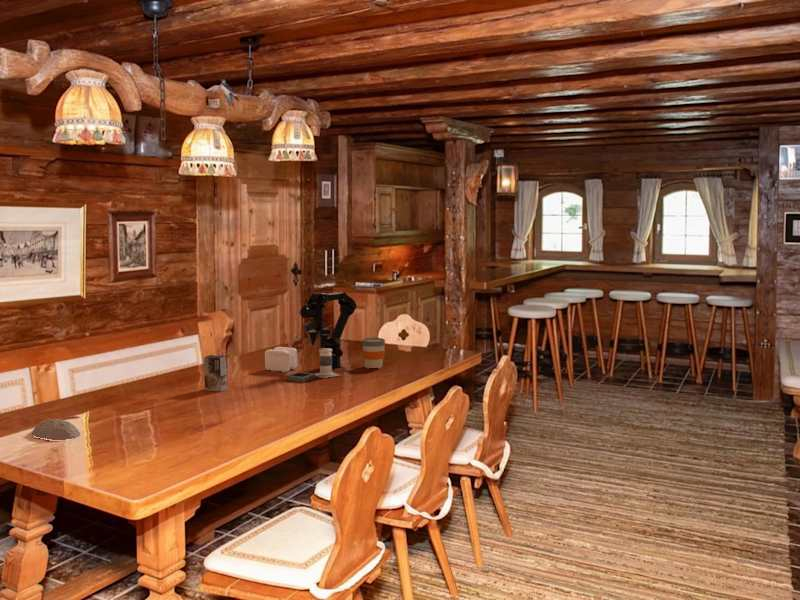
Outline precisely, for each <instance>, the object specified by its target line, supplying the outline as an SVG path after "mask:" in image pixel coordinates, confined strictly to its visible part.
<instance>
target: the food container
mask: <svg viewBox="0 0 800 600" xmlns="http://www.w3.org/2000/svg"><path fill="white" fill-rule="evenodd" d="M30 433H32V435H34V436H36V437H40V438H45V439H46V438H47V439H52V440H66V439H72V438H75V439H77V438H76V437H78V438H80V437H81V435H80V434H81V432H80V431H79V429H78V428H77V427H76V426H75V425H74V424H73V423H71V422H69V421H66V420H63V419H60V418H52V419H51V418H46V419H45V420H42V421H40V422H39V423H38V424H37V425H36V426H35V427H34V428H33V429H32V431H31V432H30ZM79 436H80V437H79ZM72 440H73V439H72Z"/></svg>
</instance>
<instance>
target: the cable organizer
mask: <svg viewBox="0 0 800 600" xmlns="http://www.w3.org/2000/svg"><path fill="white" fill-rule="evenodd" d="M264 368H265V370H267V371H269V370H271V371H270V372H279V371H281V372H280V373H287V372H289V371H290V370H291V369H293V370H294V369H296V368H298V350H297V349H296V348H294V347H286V346H276V347H274V348H273V349H271V348H270V349H266V350H265V351H264Z"/></svg>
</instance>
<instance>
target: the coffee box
mask: <svg viewBox="0 0 800 600" xmlns="http://www.w3.org/2000/svg"><path fill="white" fill-rule="evenodd" d="M203 369H204V373H203V374H204V391H205V390H207V392H210V391H211V392H224V391H226V390H228V389H229V383H228V381H229V380H228V378H229V377H228V356H227V355H220V354H209V355H207V356H204V357H203Z"/></svg>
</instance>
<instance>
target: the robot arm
mask: <svg viewBox="0 0 800 600" xmlns="http://www.w3.org/2000/svg"><path fill="white" fill-rule="evenodd" d="M329 301H330V302H331V301H337V303H338V305H339V312H340V313H339V316H338V319H337V320H336V323H335V326H334V327H333V331H332V330H331V328H327V327H325V326H324V322H325V321H326V319H325V318H324V309H326V308H327V306H326V305H325V304H326V303H328V302H329ZM302 306H303V307H302V308H301V309H300V311H299V313H300V316H301V317H302V318H303V319H308V318H310V319H309V322H305V323H303V324H301V327H302V328H301V329H302V331H303V332H305V333H306V334H307V335H308V336H309V339H310V343H311V346H314V345H315V343H316V340H317V337H318V338H319V346H320V348H322V349H323V348H330V349H332V369H337V368H338V367H339V368H342V367H343V366H342V365H341V357H343V354H344V352H343V350H342V349H341V340H340V339H341V337H342V334H343V333H344V330H345V328H346V325H347V322H348V321H349V318H350V317H351V316H352V315H353V314H354V313H355V311H356V309H357V303H356V301H355V300H354V299H353V298H352V297H351V296H349V294H347V293H346V292H345V291H337V292H329V293H323V292H322V293H321V292H313V293H311V295H310V297H309V298H308V301H307V303H306V304H303V305H302ZM329 336H330V337H329ZM339 368H338V369H339Z"/></svg>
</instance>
